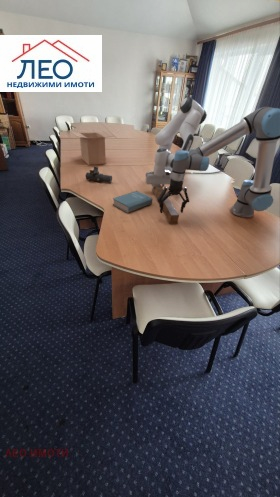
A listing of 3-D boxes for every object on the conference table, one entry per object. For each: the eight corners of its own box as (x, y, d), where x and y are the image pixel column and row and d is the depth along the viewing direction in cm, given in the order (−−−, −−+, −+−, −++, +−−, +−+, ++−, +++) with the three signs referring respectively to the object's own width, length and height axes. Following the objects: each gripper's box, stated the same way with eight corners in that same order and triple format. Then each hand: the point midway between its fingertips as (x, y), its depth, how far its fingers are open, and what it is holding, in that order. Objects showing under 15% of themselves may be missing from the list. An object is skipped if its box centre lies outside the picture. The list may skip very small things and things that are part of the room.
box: (116, 165, 229) (116, 136, 213) (83, 168, 214) (80, 137, 198) (102, 154, 259) (101, 128, 243) (71, 156, 244) (68, 129, 228)
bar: (152, 189, 183) (152, 182, 179) (158, 189, 183) (158, 182, 180) (169, 223, 138) (171, 215, 134) (177, 223, 139) (179, 215, 135)
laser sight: (109, 184, 185) (109, 172, 179) (84, 181, 187) (82, 169, 182) (112, 180, 192) (112, 169, 186) (88, 177, 195) (87, 166, 189)
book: (136, 197, 168) (136, 190, 165) (151, 204, 159) (152, 197, 156) (113, 204, 154) (112, 198, 151) (128, 213, 145) (128, 206, 142)
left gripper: (146, 172, 164) (145, 190, 172) (173, 173, 167) (170, 190, 175) (145, 170, 169) (143, 187, 177) (170, 170, 172) (168, 187, 180)
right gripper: (157, 181, 124) (153, 214, 136) (199, 182, 128) (191, 214, 140) (155, 176, 129) (151, 209, 142) (195, 177, 134) (187, 209, 146)
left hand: (157, 189), depth 176 cm, fingers closed on bar, 5 cm apart
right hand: (171, 212), depth 141 cm, fingers open, 13 cm apart
